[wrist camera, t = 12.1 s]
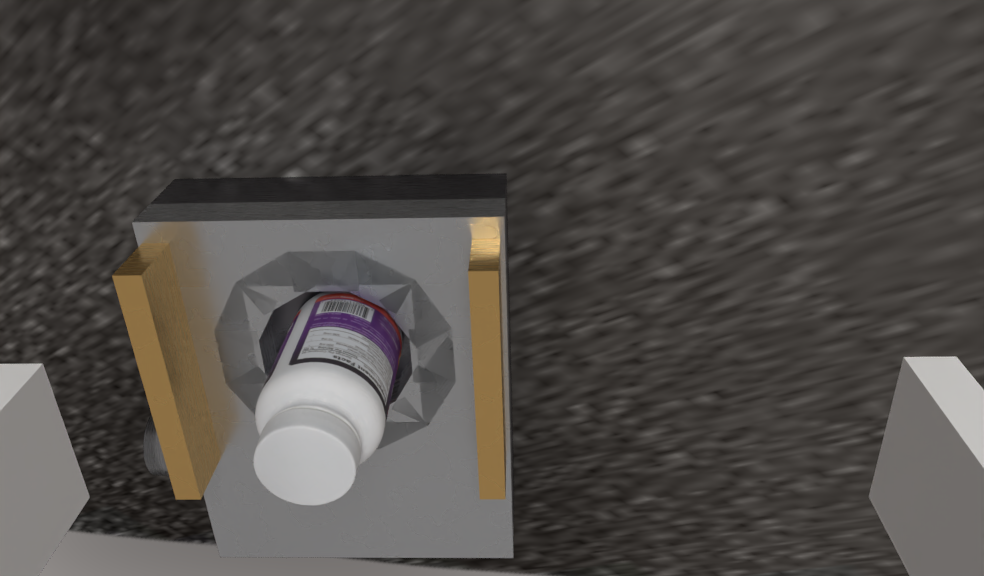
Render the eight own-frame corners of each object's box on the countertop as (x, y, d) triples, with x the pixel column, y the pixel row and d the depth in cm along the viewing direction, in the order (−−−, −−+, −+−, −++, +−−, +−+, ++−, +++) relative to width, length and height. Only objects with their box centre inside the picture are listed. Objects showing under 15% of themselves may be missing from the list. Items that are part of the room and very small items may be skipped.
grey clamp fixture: (113, 180, 40) (27, 254, 33) (506, 173, 39) (502, 248, 32) (197, 493, 50) (144, 601, 43) (514, 492, 49) (512, 603, 42)
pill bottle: (346, 396, 42) (302, 539, 34) (271, 324, 40) (204, 457, 32) (427, 342, 41) (403, 479, 32) (352, 264, 39) (305, 387, 30)
